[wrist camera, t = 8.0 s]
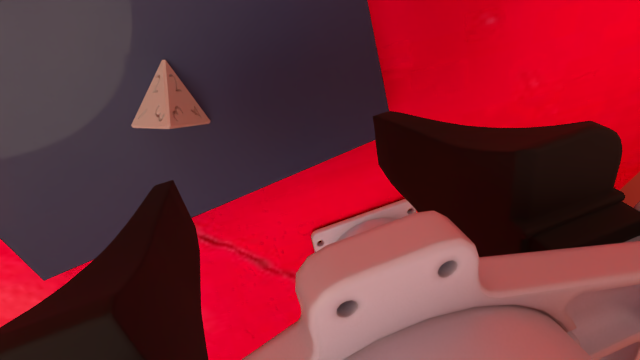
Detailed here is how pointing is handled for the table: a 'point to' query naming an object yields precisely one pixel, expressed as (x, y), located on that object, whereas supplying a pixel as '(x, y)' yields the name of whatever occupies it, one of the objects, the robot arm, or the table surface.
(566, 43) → the table surface
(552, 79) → the table surface
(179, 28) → the book
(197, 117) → the tetrahedral die
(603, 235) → the robot arm
